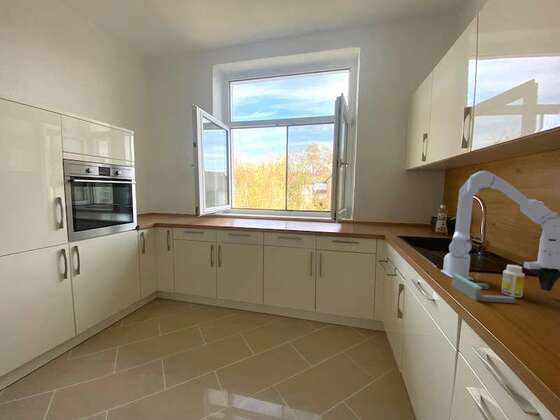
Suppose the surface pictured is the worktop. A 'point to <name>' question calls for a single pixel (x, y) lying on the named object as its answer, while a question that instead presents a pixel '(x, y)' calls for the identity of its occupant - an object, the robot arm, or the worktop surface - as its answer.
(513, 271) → the supplement bottle
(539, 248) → the robot arm
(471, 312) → the worktop surface
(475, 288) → the bay
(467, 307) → the worktop surface
